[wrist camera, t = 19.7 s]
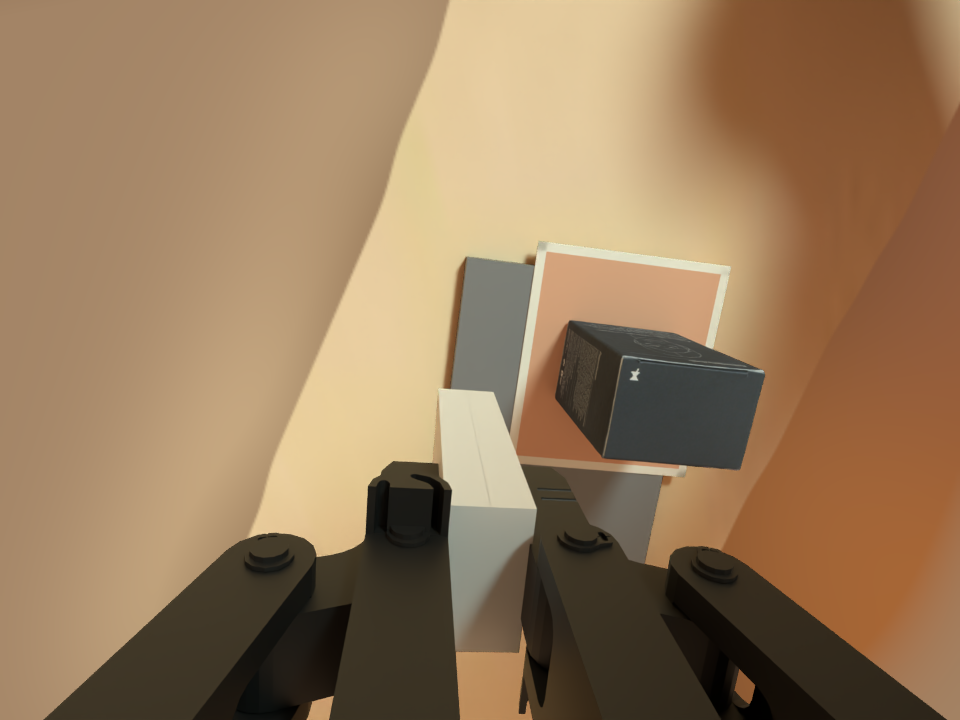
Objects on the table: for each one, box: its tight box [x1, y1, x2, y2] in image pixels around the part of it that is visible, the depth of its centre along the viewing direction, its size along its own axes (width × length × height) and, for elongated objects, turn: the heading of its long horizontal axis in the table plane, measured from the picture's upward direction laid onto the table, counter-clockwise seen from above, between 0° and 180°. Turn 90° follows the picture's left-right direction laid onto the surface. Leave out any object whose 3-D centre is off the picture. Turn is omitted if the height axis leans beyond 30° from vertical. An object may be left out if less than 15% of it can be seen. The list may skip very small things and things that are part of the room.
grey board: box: [450, 241, 731, 564], centre depth 39 cm, size 18×26×4 cm
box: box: [555, 320, 765, 470], centre depth 34 cm, size 8×6×11 cm
